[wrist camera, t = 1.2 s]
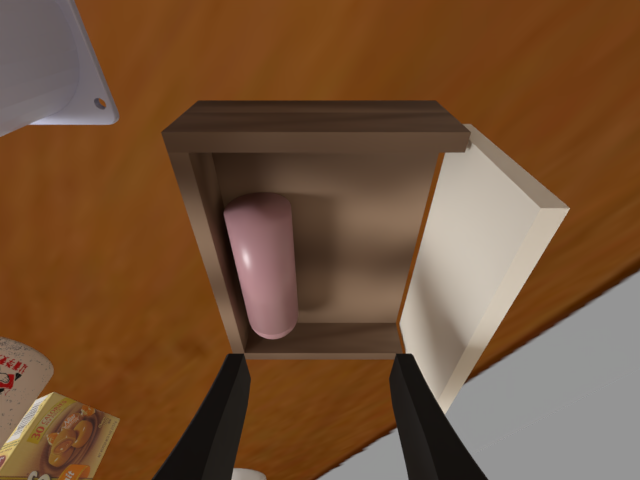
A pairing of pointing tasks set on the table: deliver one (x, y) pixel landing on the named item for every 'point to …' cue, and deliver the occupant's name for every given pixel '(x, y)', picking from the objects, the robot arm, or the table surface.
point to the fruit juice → (247, 474)
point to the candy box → (57, 441)
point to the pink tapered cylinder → (265, 260)
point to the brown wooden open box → (316, 208)
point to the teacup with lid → (19, 382)
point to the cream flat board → (473, 260)
